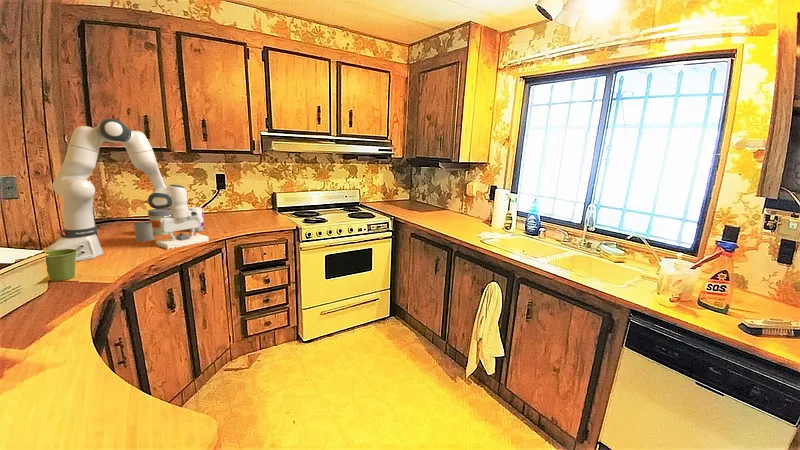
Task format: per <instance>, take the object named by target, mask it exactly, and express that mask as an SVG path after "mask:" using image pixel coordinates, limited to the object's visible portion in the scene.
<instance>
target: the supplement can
mask: <svg viewBox="0 0 800 450" xmlns="http://www.w3.org/2000/svg"><path fill="white" fill-rule="evenodd" d="M188 208H189V210H192V211H196V212H198V215H197V216H199V217H200V221H201V226H200V227H198V228H195V231H194V233H196V232H203V231H204V230H205V221H204V220H205V219H204V211H203V207H201V206H192V207H188ZM189 230H190V229H189ZM190 232H191V230H190Z"/></svg>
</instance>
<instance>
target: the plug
mask: <svg viewBox="0 0 800 450" xmlns="http://www.w3.org/2000/svg"><path fill="white" fill-rule="evenodd" d="M188 235H189V234H185V233H183V232H180V233H179V234H177V235H175V236H176V237H177V240H180V241H182V240H187V239H189V236H188Z"/></svg>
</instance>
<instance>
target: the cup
mask: <svg viewBox="0 0 800 450" xmlns="http://www.w3.org/2000/svg"><path fill="white" fill-rule="evenodd" d="M133 227H134V228H133V229H134V234H135V241H136V242H138V243H140V242H141V243H143V242H150V240H151V241H153V240H155V238H154V232H153V228H152V223H151V222H150V221H137V222H134V223H133Z"/></svg>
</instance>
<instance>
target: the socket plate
mask: <svg viewBox="0 0 800 450" xmlns="http://www.w3.org/2000/svg"><path fill="white" fill-rule="evenodd" d="M187 235H188V236H189V234H187ZM209 240H210V239H209V236H207V235H205V234H200V233H196V232H194V233H193V236H189V239H187V240H182V241H180V240H177V237H176V239H174V240H172V238H171V237H170V238H165V239H159V240H155V243H156V246H158V247H160V246H161V248H163V247H164V248H163V249H166V248H167V250H170V248H171V249H175V247H176V248H181V247H186V246H190V245H195V244H200V243H204V242H209Z"/></svg>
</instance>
